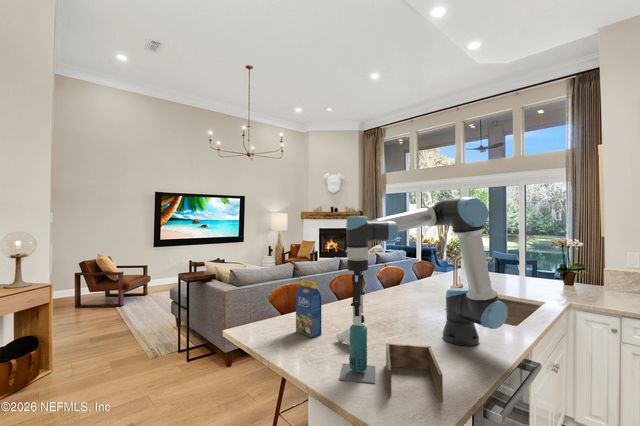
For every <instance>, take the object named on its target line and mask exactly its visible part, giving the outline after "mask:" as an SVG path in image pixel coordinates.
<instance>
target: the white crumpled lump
mask: <svg viewBox="0 0 640 426" xmlns="http://www.w3.org/2000/svg"><path fill="white" fill-rule="evenodd" d="M351 326H352V325H351ZM351 326H348V327H346V328H345V329H344V330H342V331H339V332H337V334H336V339H337V341H338V343H343V342H344V343H345V344H346V345H348V349H350V344H349V339H350V327H351Z"/></svg>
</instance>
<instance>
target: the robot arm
mask: <svg viewBox="0 0 640 426" xmlns="http://www.w3.org/2000/svg"><path fill="white" fill-rule="evenodd" d="M488 218H489V209H488V208H487V205H486V203H485V202H483V200H481V199H480V198H478V197H473V196H472V197H469V196H465V197H457V198H450V199H443V200H440V201H437V202H434V203H431V204H427V205H424V206H422V208H419V209H414V210H411V211H410V210H409V211H405V212H401V213H396V214H391V215H387V216H383V217H378V218H373V219H370V220H368V217H367V216H366V215H350V216H347V218H346V223H345V224H346V225H345V226H346V227H345V230H346V233H345V234H346V249H345V251H344V253H346V258H347V261H346V269H347V271H350V272H353V274H352V275H351V281H352V282H351V283H352V284H351V285H352V303H350V306H351V307H352V322H353V323H352V325H359V326H361V324H362V323H361V315H362V314H364V296H365V291H364V286H363V285H364V276H365V275H364V274H363V272H365V271H368V270H369V260H368V258H369V243H372V242H376V243H377V242H393V241H395V240H396V239H397V238H398V237H399V233H400V232H403V231H408V230H412V229H417V228H422V227H429V228H431V227H434V226H446V227H448V226H451V227H452V233H454V234H455V235H456V236H457V237H458V241H459V248H460V250H461V251H460V252H461V256H462V262H463V266H464V267H463V268H464V272H465V276H466V281H467V282H466V283H467V286H468V288H466V287H463V288H462V287H457V288H456V287H455V288H449V289H447V290H446V291H445V293H446V295H445V307H446V308H445V313H446V316H445V318H446V321H445V325H444V327H443V330H442V339H443V340H444V341H446V342H448V343H451V344H453V345H458V346H465V347H471V346H477V345H479V344H480V336H479V332H478V331H477V327H476V324H477V325H479V326H482V327H483V328H487V329H490V330H497V329H499V328H501V327H502V326H503V325H504V324H505V322H506V320H507V318H508V314H509V313H508V307H507V305H506V303H504V302H503V301H501V300H499V296H498V292H497V291H496V290H495V289H494V288H493V287H492V281H491V278H490V272H489V267H488V261H487V257H486V250H485V246H484V241H483V237H482V232H483V230H484V229H485V224H486V223H487V221H488Z"/></svg>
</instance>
